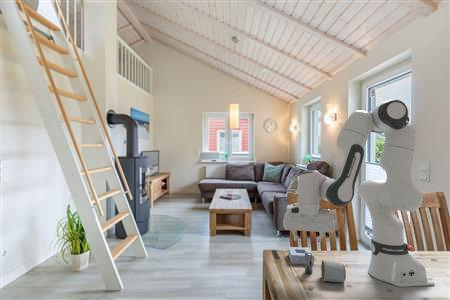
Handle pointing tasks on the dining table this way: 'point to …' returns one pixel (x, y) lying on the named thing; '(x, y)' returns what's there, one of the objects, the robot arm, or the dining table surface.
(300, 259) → the collar block
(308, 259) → the pin
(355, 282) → the dining table surface
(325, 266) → the ceramic mug
